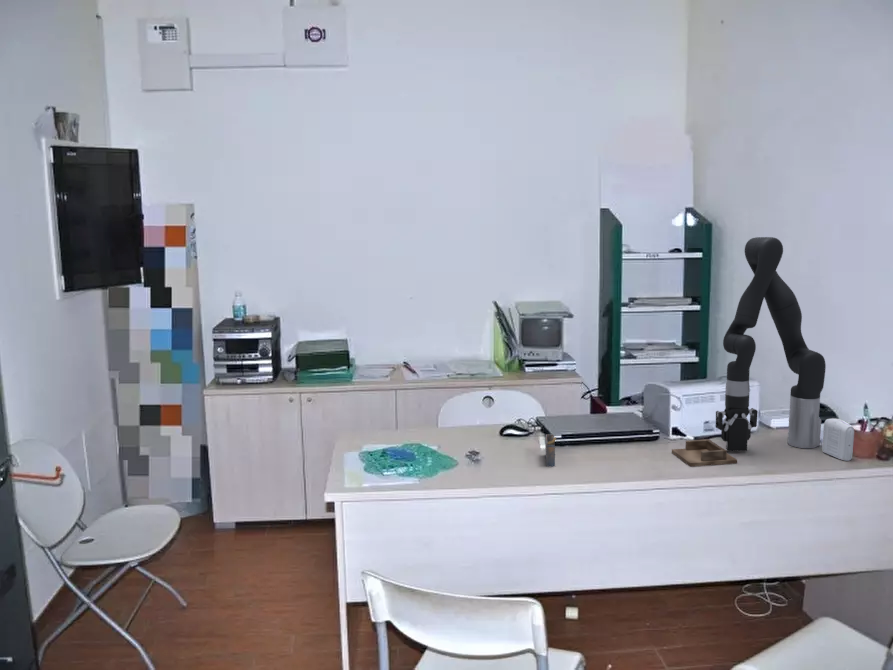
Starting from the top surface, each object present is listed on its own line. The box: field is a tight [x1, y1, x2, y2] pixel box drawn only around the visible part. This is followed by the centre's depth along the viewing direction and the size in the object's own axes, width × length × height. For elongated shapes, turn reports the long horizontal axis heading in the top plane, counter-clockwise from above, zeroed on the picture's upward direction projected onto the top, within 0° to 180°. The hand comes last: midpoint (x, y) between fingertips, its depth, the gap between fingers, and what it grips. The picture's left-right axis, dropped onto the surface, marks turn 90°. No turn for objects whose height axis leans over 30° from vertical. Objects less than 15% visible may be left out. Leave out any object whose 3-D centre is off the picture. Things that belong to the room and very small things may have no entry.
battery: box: [725, 418, 749, 452], centre depth 260 cm, size 7×4×11 cm, turn 89°
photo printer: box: [821, 417, 855, 462], centre depth 253 cm, size 10×4×12 cm, turn 17°
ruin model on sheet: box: [545, 434, 557, 468], centre depth 255 cm, size 11×3×10 cm, turn 175°
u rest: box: [671, 438, 738, 468], centre depth 255 cm, size 16×14×4 cm
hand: (735, 440), depth 260 cm, fingers closed on battery, 7 cm apart
